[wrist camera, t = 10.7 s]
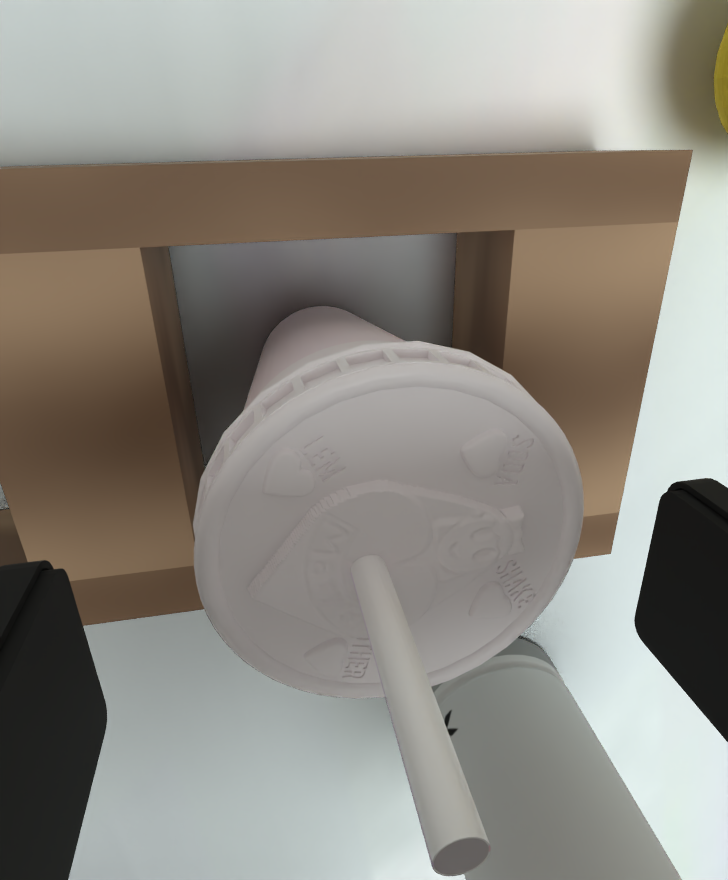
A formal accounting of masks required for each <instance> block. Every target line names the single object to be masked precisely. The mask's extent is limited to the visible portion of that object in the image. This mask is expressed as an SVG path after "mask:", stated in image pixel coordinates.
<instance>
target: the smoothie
mask: <svg viewBox="0 0 728 880" xmlns="http://www.w3.org/2000/svg"><path fill="white" fill-rule="evenodd" d="M583 513H584V494H583V486H582V478H581V474H580V470H579V466H578V463H577V460H576V457H575V455H574V452H573V449H572V447H571V445H570V444H569V442H568V440H567V438H566V436H565V434H564V433H563V431H562V430H561V428H560V427H559V426H558V424H557V423H556V421H555V420H554V419H553V418H552V417H551V416H550V415H549V413H548V412H547V411H546V410H545V409H544V408H543V407H542V406H541V405H539V404H538V403H537V402H536V401H535V399H534V398H533V397H532V396H531V395H530V394H529V393H528V392H527V391H526V390H525V389H524V388H523V387H522V386H521V385H520V384H519V382H518V381H517V380H516V379H515V378H514V377H513V376H512V375H511V374H509V373H507V372H505V371H503V370H502V369H500V368H498V367H496V366H494V365H492V364H491V363H489V362H487V361H485V360H483V359H482V358H480V357H478V356H476V355H474V354H472V353H471V352H468V351H464V350H459V349H454V348H450V347H445V346H440V345H436V344H431V343H426V342H422V341H407V342H406V341H404V340H402V339H400V338H399V337H397V336H395V335H393V334H391V333H389V332H387V331H385V330H383V329H381V328H379V327H377V326H375V325H373V324H371V323H369V322H367V321H366V320H364V319H362V318H360V317H358V316H356V315H354V314H352V313H350V312H348V311H346V310H343V309H340V308H336V307H330V306H315V307H309V308H305V309H302V310H299V311H297V312H295V313H293V314H291V315H289V316H288V317H286V318H285V319H284V320H282V321H281V322H280V323H279V324H278V325H277V326H276V327H275V328H274V329H273V331H272V332H271V333H270V335H269V337H268V338H267V340H266V342H265V345H264V348H263V350H262V354H261V357H260V360H259V363H258V366H257V369H256V372H255V375H254V379H253V382H252V385H251V388H250V391H249V394H248V397H247V401H246V404H245V407H244V410H243V412H242V413H241V414H240V415H239V416H238V417H237V419H236V420H235V421H234V422H233V423H232V424H231V425H230V426H229V427H228V428H227V429H226V430H225V432H224V433H223V435H222V437H221V439H220V441H219V443H218V445H217V447H216V449H215V451H214V453H213V455H212V457H211V459H210V461H209V463H208V465H207V466H206V468H205V470H204V472H203V474H202V476H201V479H200V485H199V491H198V496H197V502H196V508H195V514H194V520H193V529H194V536H195V542H194V571H195V578H196V584H197V588H198V592H199V595H200V599H201V602H202V604H203V607H204V609H205V611H206V614H207V616H208V618H209V619H210V621H211V623H212V625H213V627H214V628H215V630H216V631H217V632H218V634H219V635H220V637H221V638H222V639H223V641H224V642H225V643H226V644H227V645H228V646H229V647H230V648H231V649H232V650H233V652H234V653H236V654H237V655H238V656H239V657H240V658H241V659H243V660H244V661H245V662H246V663H247V664H249V665H250V666H252V667H253V668H255V669H256V670H257V671H259V672H261V673H262V674H264V675H266V676H268V677H270V678H271V679H273V680H276V681H278V682H280V683H282V684H285V685H287V686H290V687H293V688H296V689H299V690H302V691H306V692H310V693H314V694H318V695H323V696H332V697H342V698H351V699H357V698H379V697H385V698H386V702H387V706H388V709H389V713H390V716H391V720H392V724H393V727H394V731H395V734H396V738H397V742H398V745H399V749H400V752H401V756H402V760H403V763H404V767H405V770H406V774H407V778H408V781H409V785H410V788H411V792H412V796H413V799H414V803H415V806H416V810H417V814H418V817H419V821H420V824H421V828H422V832H423V835H424V839H425V842H426V846H427V850H428V853H429V857H430V860H431V864H432V867H433V870H434V871H435V872H436V873H438V874H440V875H444V876H456V875H461V874H465V873H467V872H470V871H472V870H474V869H476V868H477V867H479V866H480V865H481V864H482V863H483V862H484V861H485V860H486V859H487V858H488V856H489V854H490V850H491V847H490V844H489V841H488V838H487V836H486V833H485V830H484V828H483V825H482V822H481V820H480V817H479V814H478V811H477V809H476V806H475V803H474V801H473V798H472V795H471V793H470V790H469V787H468V784H467V782H466V779H465V776H464V774H463V771H462V768H461V766H460V763H459V760H458V758H457V755H456V752H455V749H454V747H453V744H452V741H451V739H450V736H449V733H448V731H447V728H446V725H445V723H444V720H443V717H442V714H441V712H440V709H439V706H438V704H437V701H436V698H435V696H434V693H433V690H432V688H431V687H432V686H435V685H438V684H441V683H444V682H447V681H450V680H452V679H454V678H456V677H458V676H460V675H462V674H464V673H466V672H468V671H470V670H472V669H474V668H476V667H478V666H480V665H481V664H483V663H484V662H486V661H487V660H489V659H490V658H492V657H493V656H495V655H496V654H498V653H499V652H501V651H502V650H503V649H505V648H506V647H508V646H509V645H510V644H511V643H512V642H513V641H514V640H515V639H517V638H518V637H519V636H520V635H521V634H522V633H523V632H524V631H525V630H526V629H527V628H529V627H530V626H531V625H532V624H533V622H534V621H535V620H536V619H537V618H538V616H539V615H540V614H541V613H542V612H543V610H544V609H545V608H546V606H547V605H548V604H549V603H550V602H551V600H552V599H553V597H554V595H555V594H556V592H557V590H558V589H559V587H560V586H561V584H562V582H563V580H564V578H565V576H566V575H567V573H568V571H569V568H570V566H571V563H572V561H573V558H574V556H575V553H576V550H577V546H578V543H579V539H580V534H581V529H582V523H583Z"/></svg>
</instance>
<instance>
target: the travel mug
mask: <svg viewBox="0 0 728 880" xmlns="http://www.w3.org/2000/svg"><path fill="white" fill-rule="evenodd" d="M431 688H432V690H433V693H434V696H435V698H436V701H437V704H438V706H439V709H440V712H441V714H442V717H443V720H444V723H445V725H446V728H447V731H448V733H449V736H450V739H451V741H452V744H453V747H454V749H455V752H456V755H457V758H458V760H459V763H460V766H461V768H462V771H463V774H464V776H465V779H466V782H467V784H468V787H469V790H470V793H471V795H472V798H473V801H474V803H475V806H476V809H477V811H478V814H479V817H480V820H481V822H482V825H483V828H484V830H485V833H486V836H487V838H488V841H489V844H490V847H491V850H490V854H489V856H488V858H487V859H486V860H485V861H484V862H483V863H482V864H481V865H480V866H479V867H477V868H476V869H474V870H472V871H470V872H467V873H465V878H466V880H682V879H681V877H680V876H679V874H678V872H677V871H676V869H675V867H674V866H673V864H672V862H671V861H670V859H669V857H668V855H667V854H666V852H665V850H664V849H663V847H662V845H661V844H660V842H659V840H658V839H657V837H656V835H655V834H654V832H653V830H652V829H651V827H650V825H649V824H648V822H647V820H646V819H645V817H644V815H643V814H642V812H641V810H640V809H639V807H638V805H637V804H636V802H635V800H634V798H633V797H632V795H631V793H630V792H629V790H628V788H627V787H626V785H625V783H624V782H623V780H622V778H621V777H620V775H619V773H618V772H617V770H616V768H615V767H614V765H613V763H612V762H611V760H610V758H609V757H608V755H607V753H606V752H605V750H604V748H603V747H602V745H601V743H600V741H599V740H598V738H597V736H596V735H595V733H594V731H593V730H592V728H591V726H590V725H589V723H588V721H587V720H586V718H585V716H584V715H583V713H582V711H581V710H580V708H579V706H578V705H577V703H576V701H575V700H574V698H573V696H572V695H571V693H570V691H569V690H568V688H567V687H566V686H565V684H564V682H563V679H562V678H561V676H560V674H559V673H558V671H557V669H556V668H555V666H554V664H553V663H552V661H551V659H550V658H549V657H548V655H547V654H546V653H545V651H544V650H542V649H541V648H540V647H538V646H537V645H535V644H533V643H531V642H528V641H526V640H524V639H519V638H517V639H515V640H514V641H513V642H512V643H511V644H510V645H509V646H508V647H506V648H505V649H503V650H502V651H501V652H499V653H498V654H496V655H495V656H493V657H492V658H490V659H489V660H487V661H486V662H484V663H483V664H481V665H480V666H478V667H476V668H474V669H472V670H470V671H468V672H466V673H464V674H462V675H460V676H458V677H456V678H454V679H452V680H450V681H447V682H444V683H441V684H438V685H435V686H432V687H431Z"/></svg>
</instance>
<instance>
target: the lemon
mask: <svg viewBox="0 0 728 880" xmlns="http://www.w3.org/2000/svg"><path fill="white" fill-rule="evenodd" d="M714 94H715V104H716V107H717V111H718V114H719V118H720V121H721V124H722V126H723V127H724V129H725V131H726V132H727V134H728V24H727V27H726V30H725V33H724V36H723V38H722V41H721V44H720V47H719V50H718V53H717V59H716V65H715V72H714Z"/></svg>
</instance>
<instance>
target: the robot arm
mask: <svg viewBox="0 0 728 880" xmlns="http://www.w3.org/2000/svg"><path fill="white" fill-rule="evenodd" d="M635 627H636V631H637V633H638V635H639V637H640V639H641V640H642V642H643V643H644V644H645V645H646V646H647V648H648V649H649V650H650V651H651V652H652V653H653V655H654V656H655V657H656V658H657V659H658V661H659V662H660V663H661V664H662V665H663V666H664V668H665V669H666V670H667V671H668V672H669V674H670V675H671V676H672V677H673V678H674V679H675V681H676V682H677V683H678V684H679V685H680V686H681V688H682V689H683V690H684V691H685V692H686V694H687V695H688V696H689V697H690V698H691V699H692V701H693V702H694V703H695V704H696V705H697V707H698V708H699V709H700V710H701V711H702V712H703V714H704V715H705V716H706V717H707V718H708V719H709V721H710V722H711V723H712V724H713V725H714V727H715V728H716V729H717V730H718V731H719V732H720V734H721V735H722V736H723V737H724V738H725V740H726V741H727V742H728V488H727V487H725V486H724V485H722V484H721V483H719V482H718V481H716V480H713V479H711V478H704V479H696V480H688V481H680V482H675V483H673V484H672V485H671V486H670V487H669V488H668V491H667V492H666V493H664V494H663V495H662V496H661V499H660V501H659V506H658V511H657V515H656V520H655V525H654V530H653V534H652V539H651V544H650V548H649V553H648V558H647V562H646V567H645V572H644V576H643V581H642V586H641V590H640V595H639V600H638V604H637V609H636V614H635ZM106 724H107V709H106V703H105V699H104V696H103V692H102V689H101V686H100V682H99V679H98V675H97V672H96V669H95V665H94V662H93V659H92V655H91V652H90V648H89V645H88V642H87V638H86V635H85V632H84V628H83V625H82V621H81V618H80V615H79V611H78V608H77V605H76V601H75V598H74V594H73V591H72V588H71V584H70V581H69V578H68V575H67V572H66V571H65V570H64V569H62V568H60V569H54V568H53V566H52V565H51V563H50V562H49V561H47V560H41V561H33V562H25V563H17V564H9V565H3V566H1V567H0V880H68V878H69V874H70V870H71V866H72V862H73V858H74V854H75V850H76V846H77V842H78V838H79V834H80V830H81V826H82V822H83V818H84V814H85V810H86V806H87V802H88V798H89V794H90V790H91V786H92V782H93V778H94V774H95V770H96V766H97V762H98V758H99V755H100V751H101V747H102V743H103V739H104V735H105V730H106Z"/></svg>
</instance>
